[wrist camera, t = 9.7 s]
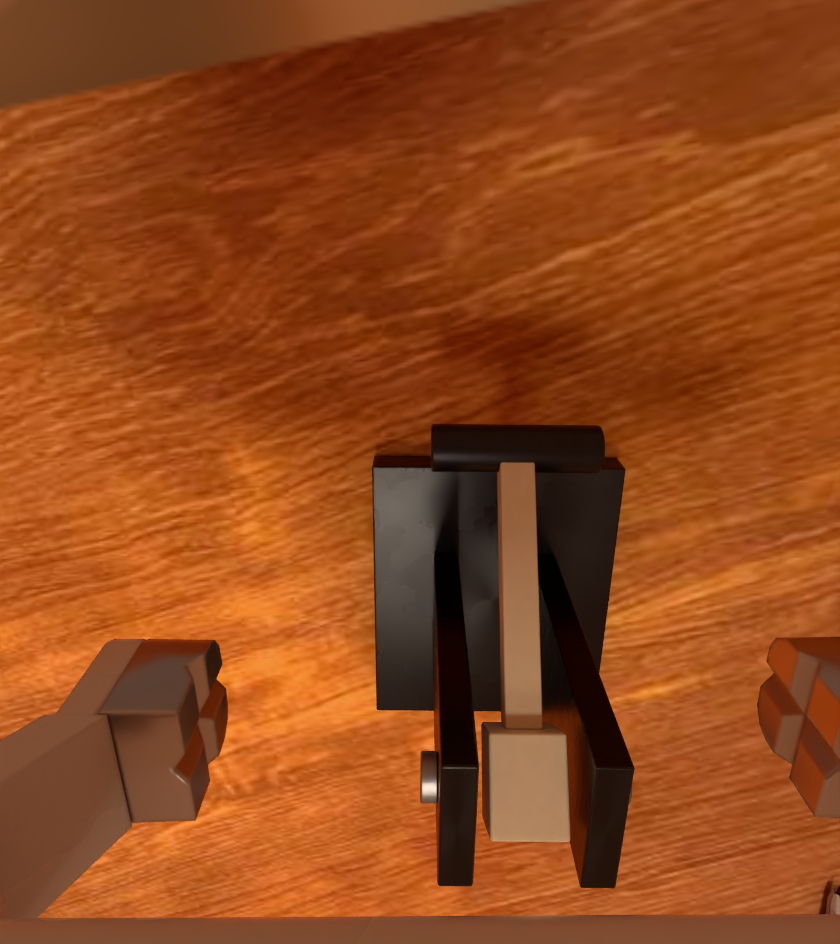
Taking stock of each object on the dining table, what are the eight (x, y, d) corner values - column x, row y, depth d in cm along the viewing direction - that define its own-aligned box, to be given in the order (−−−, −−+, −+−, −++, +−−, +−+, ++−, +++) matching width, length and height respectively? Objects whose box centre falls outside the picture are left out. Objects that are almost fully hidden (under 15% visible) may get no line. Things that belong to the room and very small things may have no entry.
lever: (430, 435, 24) (431, 413, 21) (589, 436, 24) (607, 415, 21) (428, 818, 21) (429, 841, 18) (608, 819, 21) (632, 843, 18)
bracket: (374, 455, 28) (337, 640, 16) (617, 457, 28) (761, 645, 16) (378, 691, 32) (352, 975, 20) (588, 693, 32) (684, 978, 20)
